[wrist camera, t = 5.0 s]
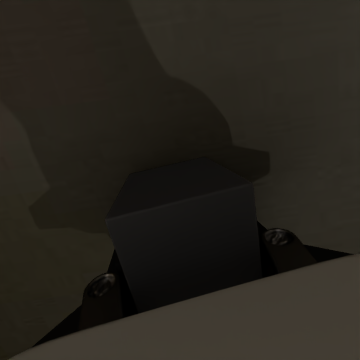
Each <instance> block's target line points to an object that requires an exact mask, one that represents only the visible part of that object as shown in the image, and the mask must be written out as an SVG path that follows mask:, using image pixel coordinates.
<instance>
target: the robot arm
mask: <svg viewBox="0 0 360 360" xmlns="http://www.w3.org/2000/svg"><path fill="white" fill-rule="evenodd" d="M257 227H258V237H259V247H260V257H261V267H262V277H263V278H262V279H258V280H255V281H251V282H248V283H244V284H241V285H237V286H234V287H230V288H226V289H223V290H219V291H216V292H212V293H209V294H205V295H202V296H198V297H195V298H191V299H188V300H184V301H181V302H177V303H174V304H170V305H167V306H163V307H160V308H156V309H153V310H149V311H146V312H143V313H139V314H138V311H137V308H136V305H135V303H134V300H133V297H132V294H131V292H130V289H129V286H128V283H127V280H126V278H125V275H124V272H123V269H122V267H121V264H120V261H119V258H118V256H117V253H116V250H114V253H113V256H112V259H111V262H110V265H109V268H108V271H107V273H104V274H101V275H99V276H97V277H96V278H94V279H93V280H92V281H91V282H90V283H89V284H88V285H87V287H86V288H85V290H84V293H83V300H82V305H81V306H80V307H78V308H77V309H76V310H75V311H74V312H72V313H71V314H70V315H69V316H68V317H67V318H65V319H64V320H63V321H62V322H61V323H60V324H58V325H57V326H56V327H55V328H54V329H53V330H51V331H50V332H49V333H48V334H47V335H45V336H44V337H43V338H42V339H41V340H40V341H38V342H37V343H36V344H35V345H34V346H33V347H32V348H30V349H28V350H26V351H24V352H22V353H20V354H18V355H16V356H14V357H12V358H10V359H8V360H360V254H349V253H344V252H339V251H334V250H329V249H324V248H319V247H313V246H308V245H303V243H302V242H301V241H300V240H299V239H298V237H297V236H296V235H295V234H294V233H292V232H290V231H289V230H285V229H280V228H273V229H268V230H267V229H266V228H265V227H264V226H262V225H261V224H260V223H259V222H258V221H257Z"/></svg>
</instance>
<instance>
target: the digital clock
mask: <svg viewBox="0 0 360 360" xmlns="http://www.w3.org/2000/svg"><path fill="white" fill-rule="evenodd" d="M105 222H106V225H107V228H108V231H109V233H110V236H111V239H112V242H113V245H114V247H115V250H116V253H117V256H118V258H119V261H120V264H121V267H122V269H123V272H124V275H125V278H126V280H127V283H128V286H129V289H130V292H131V294H132V297H133V300H134V303H135V305H136V308H137V311H138V314H139V313H143V312H146V311H149V310H153V309H156V308H160V307H163V306H167V305H170V304H174V303H177V302H181V301H184V300H188V299H191V298H195V297H198V296H202V295H205V294H209V293H212V292H216V291H219V290H223V289H226V288H230V287H234V286H237V285H241V284H244V283H248V282H251V281H255V280H258V279H262V278H263V277H262V267H261V257H260V247H259V237H258V227H257V217H256V207H255V197H254V187H253V184H252V182H250V181H248V180H246V179H244V178H242V177H241V176H239V175H237V174H235V173H233V172H232V171H230V170H228V169H226V168H224V167H223V166H221V165H219V164H217V163H215V162H214V161H212V160H210V159H208V158H206V157H202V158H197V159H193V160H189V161H184V162H180V163H176V164H171V165H167V166H163V167H158V168H154V169H150V170H145V171H141V172H137V173H133V174H130V175H129V176H128V178H127V180H126V182H125V184H124V185H123V187H122V189H121V191H120V193H119V195H118V196H117V198H116V200H115V202H114V204H113V206H112V207H111V209H110V211H109V213H108V215H107V217H106V218H105Z"/></svg>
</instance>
